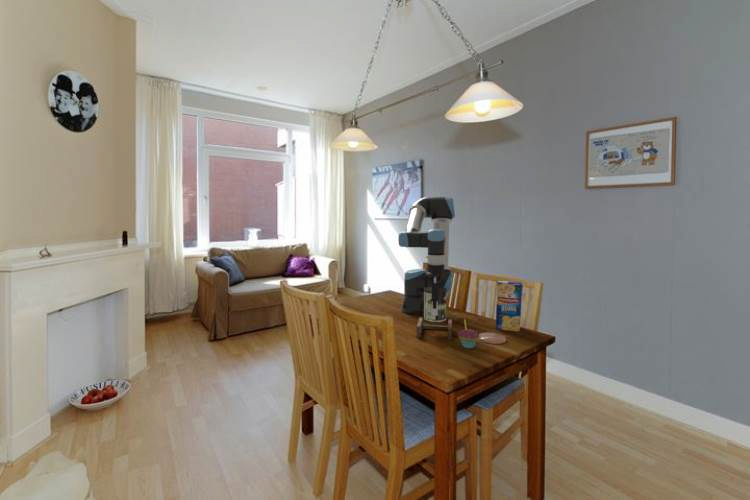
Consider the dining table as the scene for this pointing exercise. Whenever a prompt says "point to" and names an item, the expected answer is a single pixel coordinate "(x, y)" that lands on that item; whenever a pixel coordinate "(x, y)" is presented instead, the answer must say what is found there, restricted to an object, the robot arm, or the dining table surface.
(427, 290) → the coffee can
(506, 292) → the blue cardboard box
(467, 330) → the cupcake
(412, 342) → the dining table surface
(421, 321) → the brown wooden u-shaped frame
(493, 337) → the coaster
